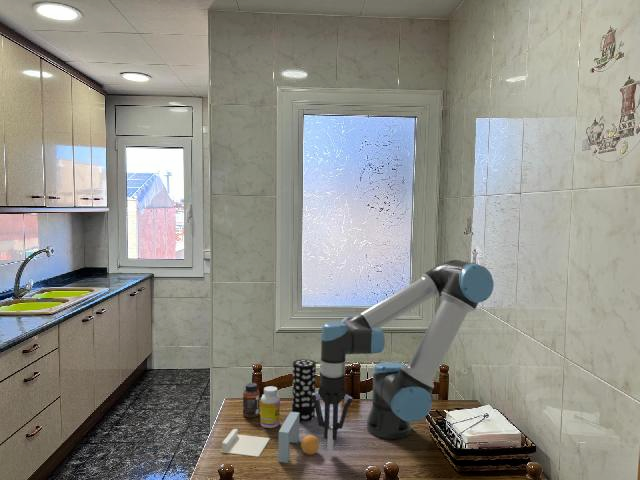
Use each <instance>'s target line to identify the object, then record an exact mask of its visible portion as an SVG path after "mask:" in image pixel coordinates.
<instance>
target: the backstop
mask: <svg viewBox="0 0 640 480" xmlns="http://www.w3.org/2000/svg"><path fill="white" fill-rule="evenodd" d="M238 434H239V429H238V428H233V429H232V430H231V431H230V433H229V434H228V435H227V436H226V438H224V440H223V441H222V442H221V451H222V450H224V451H227V449H228V448H229V447H230V445H231V444H232V443H233V442H234V440H235V439H236V438H237V436H238Z"/></svg>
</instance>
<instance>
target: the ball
mask: <svg viewBox="0 0 640 480" xmlns="http://www.w3.org/2000/svg"><path fill="white" fill-rule="evenodd" d="M300 445H301V449H302V451H303V452H304V454H306V455H308V456H309V455H314V454H316V453H317V452H318V450H319V448H320V442H319V439H318V438H317V437H316V436H314V435H311V434H309V435H306V436H305V437H303V439H302V441H301V444H300Z"/></svg>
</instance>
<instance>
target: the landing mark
mask: <svg viewBox="0 0 640 480" xmlns="http://www.w3.org/2000/svg"><path fill="white" fill-rule="evenodd" d="M270 439H271V438H270V437H263V436H254V435H247V434H239V433H238V436H237V438H236V439H235V440H234V442H233V443H232V444H231V445H230V447H229V448H228V449H227V451H224V450H222V449H221V451H220V452H221V453H223V454H230V455H231V454H232V455H238V456H239V455H240V456H248V457H257V458H259V457H260V455H261V454H262V452H263V450H264V449H265V447H266V446H267V444H268V443H269V441H270Z"/></svg>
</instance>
